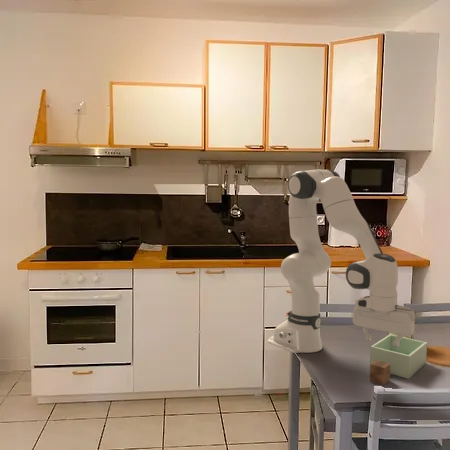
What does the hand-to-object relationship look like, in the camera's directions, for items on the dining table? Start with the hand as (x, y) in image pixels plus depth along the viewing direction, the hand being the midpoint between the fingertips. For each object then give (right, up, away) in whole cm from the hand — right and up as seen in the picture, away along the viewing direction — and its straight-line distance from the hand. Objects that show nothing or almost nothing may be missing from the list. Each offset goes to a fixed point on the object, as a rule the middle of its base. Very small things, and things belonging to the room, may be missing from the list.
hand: (382, 343), depth 160 cm
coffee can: (+20, -10, +38) cm, 44 cm away
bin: (+11, -12, +15) cm, 22 cm away
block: (0, -13, +2) cm, 13 cm away
